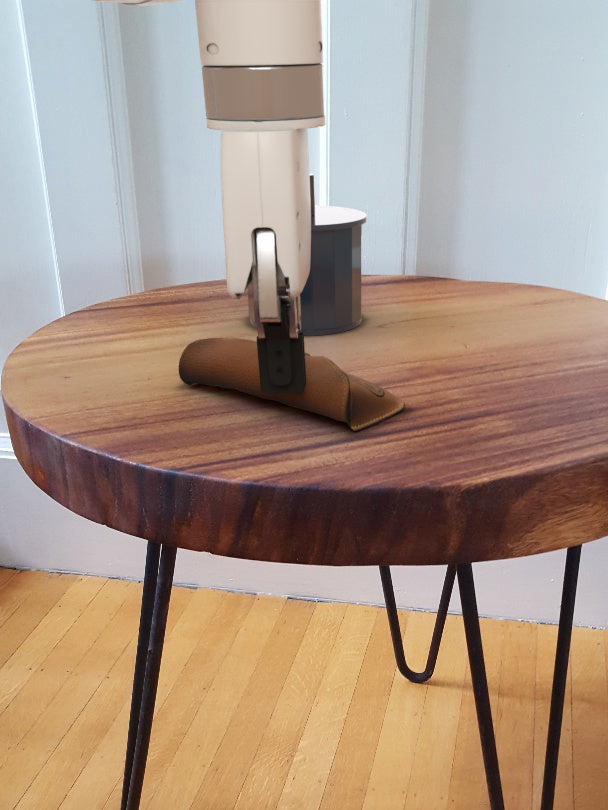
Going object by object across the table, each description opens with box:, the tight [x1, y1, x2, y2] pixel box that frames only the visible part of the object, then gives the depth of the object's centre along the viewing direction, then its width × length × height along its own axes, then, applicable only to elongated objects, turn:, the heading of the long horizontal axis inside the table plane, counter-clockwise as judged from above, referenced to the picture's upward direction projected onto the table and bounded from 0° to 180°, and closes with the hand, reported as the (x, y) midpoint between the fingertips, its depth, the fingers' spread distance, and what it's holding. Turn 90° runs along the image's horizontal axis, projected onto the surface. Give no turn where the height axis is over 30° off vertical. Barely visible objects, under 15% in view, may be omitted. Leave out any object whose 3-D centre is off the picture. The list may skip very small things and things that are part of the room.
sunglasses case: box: [178, 337, 406, 432], centre depth 76 cm, size 18×7×7 cm, turn 53°
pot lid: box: [309, 172, 368, 231], centre depth 92 cm, size 12×12×5 cm
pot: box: [246, 224, 363, 337], centre depth 95 cm, size 11×11×10 cm
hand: (283, 389), depth 70 cm, fingers closed
